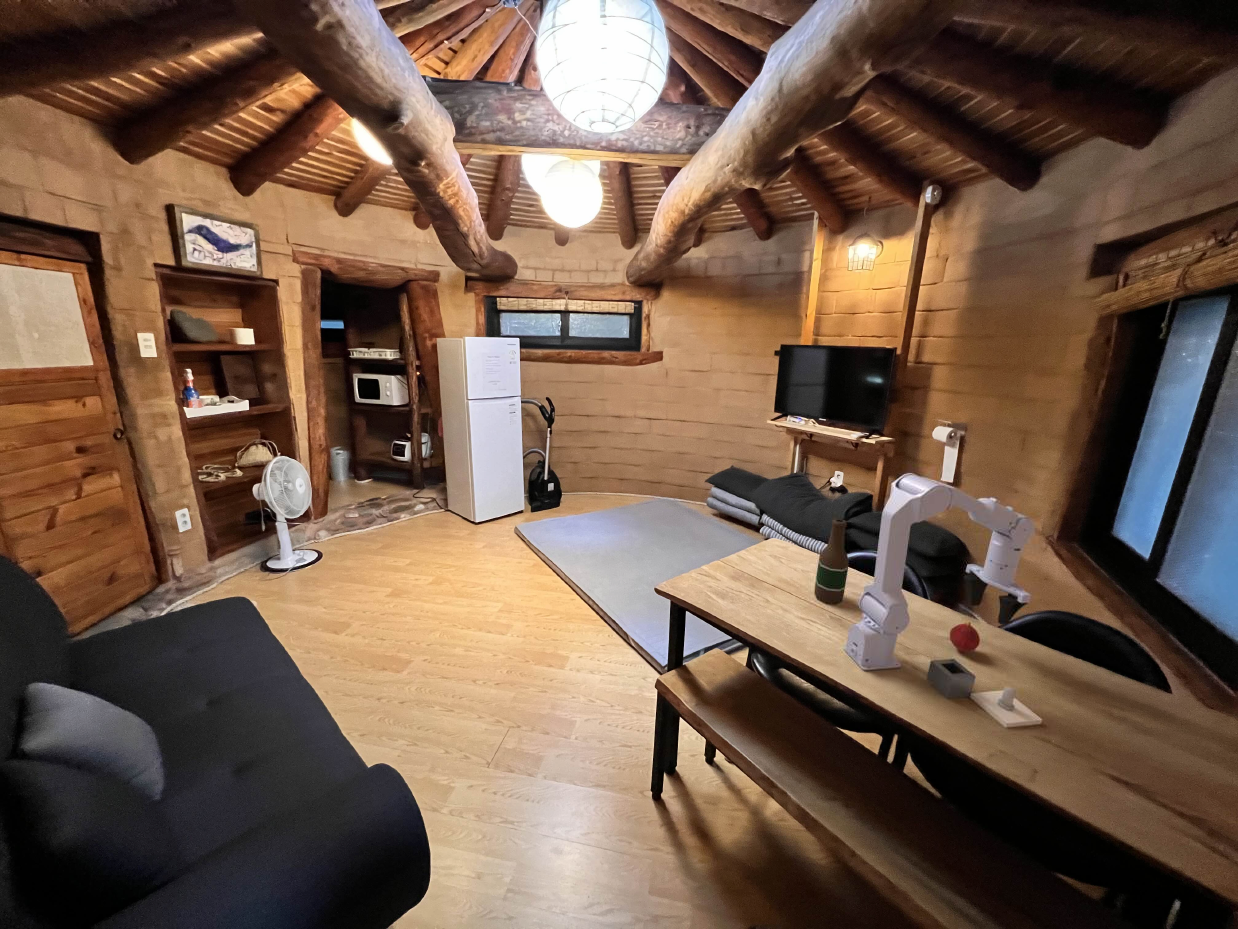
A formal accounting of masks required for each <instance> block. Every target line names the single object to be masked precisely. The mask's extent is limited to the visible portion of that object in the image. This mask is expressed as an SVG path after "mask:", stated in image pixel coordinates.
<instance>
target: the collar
mask: <svg viewBox="0 0 1238 929" xmlns="http://www.w3.org/2000/svg"><path fill="white" fill-rule="evenodd" d="M975 681H976V675H975V674H974V673H973V672H971V671H970V670H968V669H967V668H966V667H965V666H963V665H962V664H961V663H960V662H958V660H956V659H954V658H947V659H934V660H930V662H929V667H928V672H927V676H926V682H928V683H929V684H930V686H932V687H934V689H936V690H937V691H938V692H939V693H940V694H941V695H942V696H943V697H944V698H945V699H957V698H958V699H959V698H969V697H970V696H971V693H973V688H974V686H975Z"/></svg>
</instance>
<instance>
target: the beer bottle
mask: <svg viewBox="0 0 1238 929" xmlns="http://www.w3.org/2000/svg"><path fill="white" fill-rule="evenodd" d="M831 524H832V525H831V526H832V527H831V530H830V537H829V540H828V543H827V546H825V547H824V548H823V549H822V550H821V552H820V554H819V558H818V561H817V562H818V563H817V567H816V568H817V569H816V574H815V575H816V576H815V584H814V593H813V594H814V595H815V598H816V600H817V601H820V602H822V603H824V604H825V605H834V606H835V605H836V606H837V605H838V604H841V603H842V602H843V600H844V596H845V590H846V584H847V579H848V578H847V577H848V571H849V565H850V564H849V562H850V560H849V557H848V554H847V551H846V550H845V535H846V527H847V526H848V524H847V521H846V520H844V519H841V518H835V519H833V520H832V521H831Z"/></svg>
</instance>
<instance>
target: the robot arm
mask: <svg viewBox="0 0 1238 929" xmlns="http://www.w3.org/2000/svg"><path fill="white" fill-rule="evenodd" d="M1000 503H1001V501H1000V500H999V499H997V498H994V497H989V498H987V497H981V498H978V499H976V498H975V497H973V496H971V495H970V494H968V493H967V492H966V493H965V492H964V491H963V490H960V489H959V488H957V487H954V486H951V485H950V484H946V483H944V482H940V481H938V480H934V479H931V478H928V477H924V476H919V475H918V474H915V473H912V472H908V473H904V474H902V475H901V476H900V477H898V478H897V479H896V480H894V481H893V482H891V485H890V495H889V498H888V500H887V502H886V504H885V506H884V507H883V510H882V513H881V520H880V528H879V529H880V530H879V536H878V538H879V539H878V544H877V552H876V560H875V567H874V568H875V569H874V575H873V576H874V577H873V582H870V583H867V584H866V585H864V587H863V591H862V593H861V595H860V597H859V598H858V606H859V609H860V610H861V612H862V614H861V617H862V618H863V619H862V620H860V621H859V622H857V623H854V624H852V625H850V626H849V628H848V633H847V640H846V646H844V647H843V651H845V652H846V653H847V654H848V655H849V656H850V658H852V659H853V661H854V662H855V663H856V664H857V665H858V666H859V667H860V668H861V669H862V670H863V671H870V670H871V671H872V670H881V669H882V670H885V669H896V668H901V667H902V664H901V663H900V662H899V661H898V660H896V659H895V658H894V655H895V648H896V644H897V639H898V635H899V634H901V633H902V632H904V631H905V630H906V629H907V628H908V626H909V623H910V614H909V612H908V606H909V605H908V601H907V599H906V598H905V595H904V594H903V591H902V590H903V581H904V576H905V569H906V568H905V567H906V562H907V561H906V560H907V553H908V546H909V541H910V534H911V526H912V525H913V524H914V523H920V522H923V521H925V520H927V519H930V518H931V517H934V516H936V515H939V514H940V513H942V512H944V511H945V510H946V509H948V510H950V509H952V507H953V506H954V507H957V508H959V509H961V510H964V511H966V512H967V513H968V517H969V518H970V519H971V520H972V521H973V522H974V523H977V524H979V525H981V526H984V527H985V528H987V529H989V530H990V531H992V534H991V538H990V542H989V546H988V549H987V553H986V558H985V561H984V565H983V567H981V566H979V565H977V564H975V563H972V564H971V563H969V564H967V566H966V569H965V572H966V573H968V575H964V576H963V580H964V582H965V584H966V587H967V590H968V597H969V598H968V599H969V600H968V601H969V605H970V606H972V607H973V606H974V607H975V606H980V605H981V602H982V600H983V596H984V593H985V590H986V589H987V587H988V586H989V585H990V586H991V587H992V586H993V587H995V588H997V589H999V590H1001V591H1002V592H1004V593H1006V595H998V600H999V612H998V617H997V623H998V624H1000V625H1009V623H1010V621H1011V620H1012V619H1013V617H1014V616H1015V615H1016V614H1017V613H1018V611H1019V610H1021V609H1022V608H1024V606H1026V605H1028V604H1029V603H1030V601H1031V597H1032V594H1030V593H1029V592H1027V591H1026V590H1025V589H1023V588H1022V587H1020V586H1019V585H1018V584H1017V582H1016V579H1015V578H1016V574H1017V573H1016V572H1017V570H1018V566H1019V564H1020V563H1019V562H1020V558H1021V555H1022V553H1023V552H1022V551H1023V549H1025V547H1026V546H1027V544H1028V542H1029V539H1031V538H1032V537H1033V536H1034V534H1035V532H1036V528H1035V524H1034V522H1033V521H1032V518H1031V517H1028V516H1026V515H1023V514H1021V513H1020V512H1019V513H1018V512H1016V510H1015V508H1014V507H1011V506H1005V505H1003V504H1000Z"/></svg>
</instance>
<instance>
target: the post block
mask: <svg viewBox="0 0 1238 929" xmlns="http://www.w3.org/2000/svg"><path fill="white" fill-rule="evenodd" d="M1016 694H1017V690H1016V689H1014V688H1013V687H1011V686H1007V685H1005V686H1004V688H1003V689H1002V690H994V691H993V690H992V691H984V692H983V691H982V692H972V693H971V696H970V699H971V700H973V701H974V703H976V704H977V705H979V707H980V708H982V709H983V710H984V711H985V712H987V713H988V715H990V716H991V717H993V718H994V719H995V720H996V721H997V722H998V723H999V724H1000V725H1001V726H1002V727H1004V729H1005V728H1014V727H1025V726H1034V725H1042V722H1043V719H1042V718H1041V717H1040V716H1038V715H1037V714H1036V713H1034V711H1032V710H1031V709H1030V708H1029V707H1027V706H1026V705H1024V704H1023V703H1022V702H1021V701H1019V700H1018V699H1017V698H1015V696H1016Z"/></svg>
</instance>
